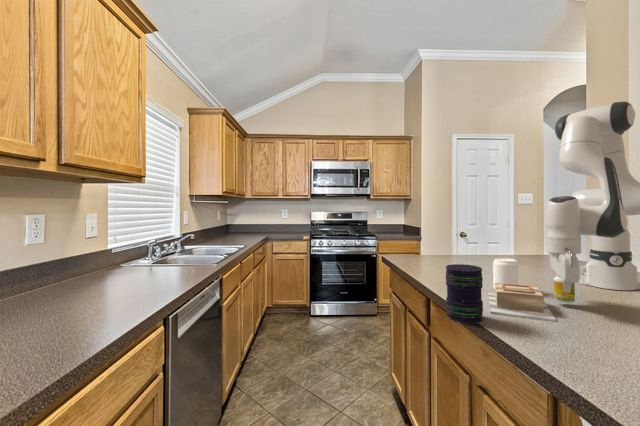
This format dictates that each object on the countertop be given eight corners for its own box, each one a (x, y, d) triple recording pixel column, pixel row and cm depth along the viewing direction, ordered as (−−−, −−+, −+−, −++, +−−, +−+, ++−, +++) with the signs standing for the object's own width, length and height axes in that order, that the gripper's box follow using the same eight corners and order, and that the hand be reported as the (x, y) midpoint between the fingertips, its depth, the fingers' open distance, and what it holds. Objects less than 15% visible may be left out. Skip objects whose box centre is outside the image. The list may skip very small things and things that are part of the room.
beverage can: (494, 287, 122) (494, 257, 122) (518, 289, 117) (518, 259, 117) (492, 291, 115) (491, 260, 115) (517, 295, 111) (517, 262, 110)
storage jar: (446, 321, 87) (446, 269, 86) (445, 310, 96) (444, 263, 96) (486, 325, 83) (485, 271, 83) (480, 313, 92) (479, 265, 92)
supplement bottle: (557, 297, 102) (557, 268, 101) (577, 301, 97) (577, 271, 97) (551, 300, 99) (550, 271, 98) (571, 304, 94) (570, 273, 94)
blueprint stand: (488, 294, 112) (488, 278, 112) (541, 299, 104) (541, 282, 104) (490, 313, 92) (490, 293, 92) (555, 321, 85) (555, 300, 85)
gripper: (586, 252, 87) (586, 299, 87) (567, 243, 105) (568, 282, 105) (558, 251, 90) (559, 297, 90) (544, 242, 108) (545, 281, 108)
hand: (564, 289), depth 98 cm, fingers closed on supplement bottle, 5 cm apart
